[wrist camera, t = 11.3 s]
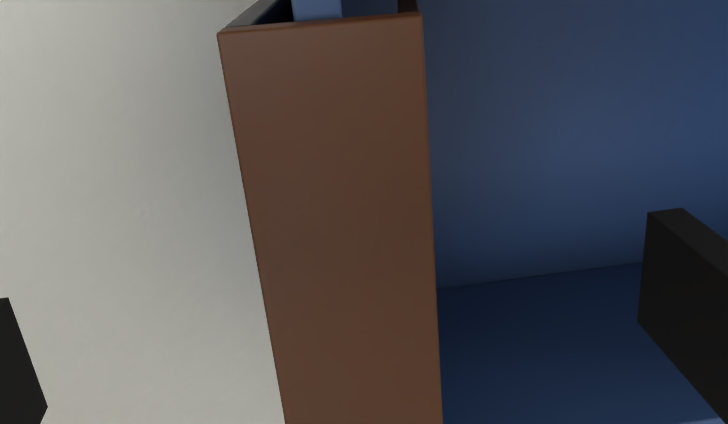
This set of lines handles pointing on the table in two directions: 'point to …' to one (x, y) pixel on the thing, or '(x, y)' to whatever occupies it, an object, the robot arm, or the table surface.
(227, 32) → the two-tone wooden bracket
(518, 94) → the bin
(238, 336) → the table surface
